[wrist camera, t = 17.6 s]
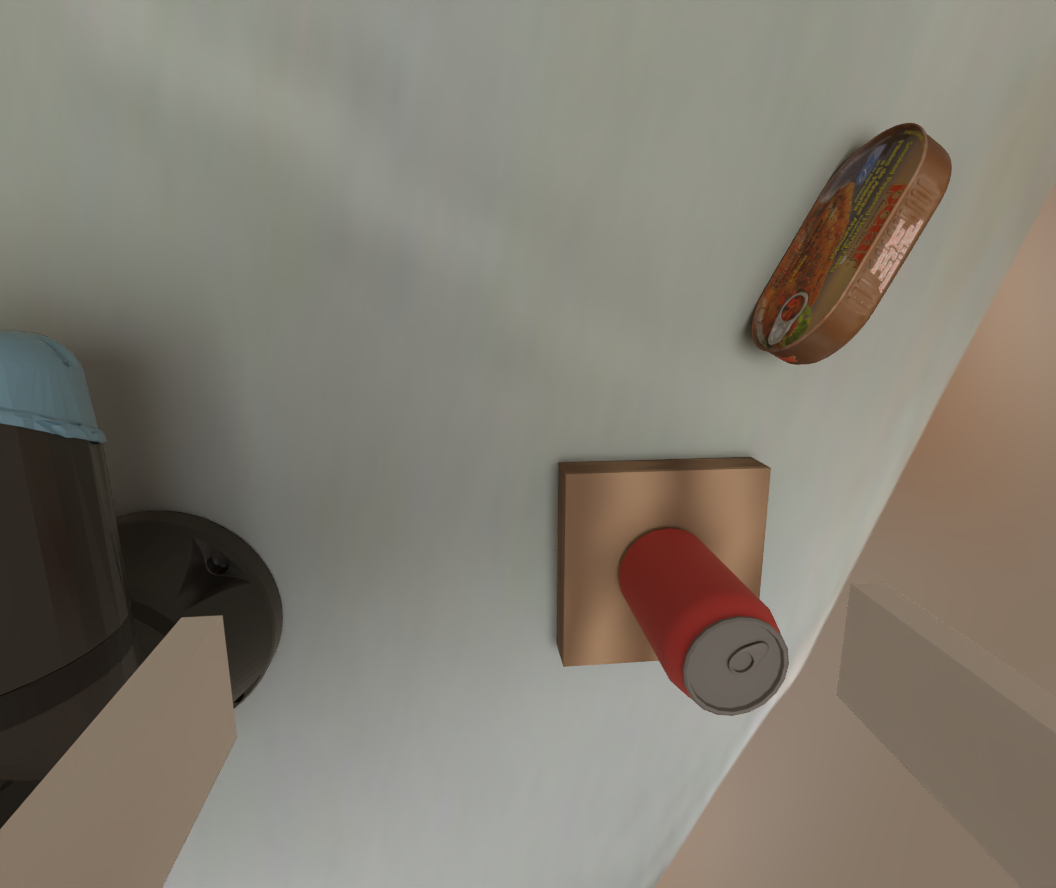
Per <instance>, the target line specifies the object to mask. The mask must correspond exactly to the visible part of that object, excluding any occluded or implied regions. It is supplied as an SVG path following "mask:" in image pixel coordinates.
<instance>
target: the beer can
mask: <svg viewBox="0 0 1056 888" xmlns="http://www.w3.org/2000/svg"><path fill="white" fill-rule="evenodd" d="M619 584H620V591H621V592H622V594H623V596H624V598H625V600H626V602H627V604H628V606H629V607H630V609H631V611H632V613H633V615H634V616H635V618H636V620H637V622H638V624H639V625H640V627H641V629H642V631H643V633H644V634H645V636H646V638H647V640H648V642H649V643H650V645H651V647H652V649H653V651H654V652H655V654H656V656H657V658H658V660H659V661H660V663H661V665H662V667H663V669H664V670H665V672H666V674H667V676H668V678H669V679H670V681H671V682H672V683H674V684H675V685H676V686H677V687H678V688H679V689H680V690H681V691H682V692H684V693H685V694H686V695H687V696H688V697H690V698H691V699H692V700H693V701H694V702H696V703H697V704H698V705H699V706H700V707H701V708H702V709H704V710H707V711H709V712H712V713H714V714H717V715H730V716H734V715H738V714H743V713H747V712H750V711H752V710H754V709H756V708H758V707H760V706H762V705H764V704H765V703H766V702H767V701H768V700H769V699H770V698H771V697H772V696H773V695H774V694H776V692H777V691H778V689H779V688H780V686H781V684H782V683H783V681H784V679H785V676H786V672H787V669H788V665H789V661H788V649H787V646H786V644H785V642H784V640H783V638H782V636H781V634H780V631H779V628H778V626H777V624H776V622H775V620H774V618H773V616H772V614H771V612H770V610H769V608H768V607H767V606H766V605H765V604H764V603H763V602H762V601H761V600H760V599H759V598H758V597H757V596H756V595H755V594H754V593H753V592H752V591H751V590H750V589H749V588H748V587H747V586H746V585H745V584H744V583H743V582H742V581H741V580H740V579H739V578H738V577H737V576H736V575H735V574H734V573H733V572H732V571H731V570H730V569H729V568H728V567H727V566H726V565H725V564H724V563H723V562H722V561H721V560H720V559H719V558H718V557H717V556H716V555H715V554H714V553H713V552H712V551H711V550H710V549H709V548H708V547H707V546H706V545H705V544H704V543H703V542H702V541H701V540H700V539H699V538H698V537H696V536H695V535H693V534H691V533H689V532H686V531H684V530H680V529H671V528H667V529H662V530H657V531H652V532H650V533H648V534H647V535H645V536H643V537H641V538H639V539H638V540H637V541H636V542H635V543H634V544H633V545H632V546H631V547H630V548H629V549H628V551H627V553H626V555H625V556H624V558H623V560H622V562H621V566H620V572H619Z"/></svg>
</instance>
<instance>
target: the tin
mask: <svg viewBox="0 0 1056 888" xmlns="http://www.w3.org/2000/svg"><path fill="white" fill-rule="evenodd" d="M951 170H952V167H951V159H950V157H949V154H948V153H947V152H946V150H945V149H944V148H943V147H942V146H941V145H940V144H938V143H937V142H936V141H935V140H933V139H932V138H931V137H930V136H928V135H927V134H926V132H925V130H924V129H923V128H922V127H921V126H919V125H918V124H915V123H905V124H900V125H897V126H894V127H892V128H890V129H888V130H886V131H884V132H882V133H881V134H879V135H877V136H876V137H874V138H873V139H872V140H870V141H869V142H868V143H866V144H865V145H864V146H862V147H861V148H860V149H859V150H858V151H857V152H855V153H854V154H853V155H852V156H851V157H850V158H849V159H848V160H847V161H846V162H845V163H844V164H843V165H842V166H841V167H840V168H839V170H838V171H837V172H836V173H835V174H834V175H833V177H832V178H831V179H830V181H829V182H828V183H827V185H826V186H825V188H824V189H823V191H822V192H821V194H820V196H819V197H818V199H817V201H816V202H815V204H814V206H813V207H812V209H811V211H810V213H809V214H808V216H807V218H806V219H805V221H804V223H803V225H802V226H801V228H800V230H799V232H798V233H797V235H796V237H795V238H794V240H793V242H792V244H791V245H790V247H789V249H788V251H787V252H786V254H785V256H784V257H783V259H782V261H781V262H780V264H779V266H778V268H777V269H776V271H775V273H774V274H773V276H772V278H771V280H770V281H769V283H768V285H767V286H766V288H765V290H764V292H763V293H762V295H761V297H760V299H759V302H758V304H757V307H756V309H755V312H754V316H753V320H752V337H753V340H754V342H755V344H756V345H757V346H758V347H759V348H760V349H762V350H764V351H768V352H770V353H771V354H773V355H775V356H776V357H778V358H779V359H781V360H783V361H785V362H787V363H790V364H796V365H799V364H811V363H815V362H818V361H820V360H823V359H825V358H827V357H828V356H830V355H832V354H833V353H835V352H836V351H838V350H839V349H840V348H842V347H843V346H844V345H845V344H847V343H848V342H849V341H850V340H851V339H852V338H853V337H854V336H855V335H856V334H857V333H858V332H859V330H860V329H861V328H862V327H863V326H864V325H865V323H866V322H867V321H868V319H869V318H870V316H871V315H872V313H873V312H874V310H875V308H876V307H877V305H878V304H879V302H880V300H881V299H882V297H883V295H884V294H885V292H886V291H887V289H888V287H889V286H890V284H891V283H892V281H893V279H894V278H895V276H896V274H897V273H898V271H899V269H900V268H901V266H902V265H903V263H904V261H905V260H906V258H907V256H908V255H909V253H910V251H911V250H912V248H913V246H914V245H915V243H916V241H917V240H918V238H919V236H920V235H921V233H922V231H923V230H924V228H925V227H926V225H927V223H928V221H929V220H930V218H931V216H932V215H933V213H934V212H935V210H936V208H937V207H938V205H939V203H940V202H941V200H942V198H943V196H944V194H945V192H946V190H947V187H948V184H949V181H950V177H951Z"/></svg>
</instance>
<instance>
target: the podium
mask: <svg viewBox="0 0 1056 888" xmlns="http://www.w3.org/2000/svg"><path fill="white" fill-rule="evenodd" d="M770 471H771V468H770V467H768V466H766V465H764V464H763V463H761V462H759V461H757V460H755V459H754V458H752V457H737V458H702V459H667V460H633V461H598V462H563V463H559V486H558V583H557V646H558V650H559V653H560V657H561V660H562V664H563V667H564V666H580V665H596V664H612V663H628V662H644V661H659V660H658V658H657V656H656V654H655V652H654V651H653V649H652V647H651V645H650V643H649V642H648V640H647V638H646V636H645V634H644V633H643V631H642V629H641V627H640V625H639V624H638V622H637V620H636V618H635V616H634V615H633V613H632V611H631V609H630V607H629V606H628V604H627V602H626V600H625V598H624V596H623V594H622V592H621V591H620V584H619V572H620V566H621V562H622V560H623V558H624V556H625V555H626V553H627V551H628V549H629V548H630V547H631V546H632V545H633V544H634V543H635V542H636V541H637V540H638V539H639V538H641V537H643V536H645V535H647V534H648V533H650V532H652V531H657V530H662V529H667V528H671V529H680V530H684V531H686V532H689V533H691V534H693V535H695V536H696V537H698V538H699V539H700V540H701V541H702V542H703V543H704V544H705V545H706V546H707V547H708V548H709V549H710V550H711V551H712V552H713V553H714V554H715V555H716V556H717V557H718V558H719V559H720V560H721V561H722V562H723V563H724V564H725V565H726V566H727V567H728V568H729V569H730V570H731V571H732V572H733V573H734V574H735V575H736V576H737V577H738V578H739V579H740V580H741V581H742V582H743V583H744V584H745V585H746V586H747V587H748V588H749V589H750V590H751V591H752V592H753V593H754V594H755V595H756V596H757V597H758V598H759V596H760V585H761V573H762V562H763V551H764V539H765V528H766V517H767V505H768V494H769V483H770Z"/></svg>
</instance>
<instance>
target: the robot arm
mask: <svg viewBox="0 0 1056 888" xmlns="http://www.w3.org/2000/svg"><path fill="white" fill-rule="evenodd" d="M103 443H107V440H106V436H105V434H104V432H103V431H102V430H100V429H99V428H98V425H97V421H96V417H95V413H94V409H93V405H92V401H91V397H90V393H89V389H88V385H87V381H86V377H85V373H84V370H83V367H82V365H81V363H80V361H79V360H78V359H77V357H76V356H75V355H74V354H73V353H72V352H71V351H70V350H69V349H68V348H67V347H66V346H64V345H63V344H61V343H60V342H58V341H56V340H54V339H52V338H49V337H47V336H43V335H40V334H35V333H29V332H20V331H9V330H0V888H162V887H163V885H164V883H165V881H166V879H167V877H168V875H169V873H170V871H171V869H172V867H173V865H174V863H175V861H176V859H177V857H178V855H179V853H180V851H181V849H182V847H183V845H184V843H185V841H186V839H187V837H188V835H189V833H190V831H191V829H192V827H193V825H194V823H195V821H196V819H197V817H198V815H199V813H200V811H201V809H202V807H203V805H204V803H205V801H206V799H207V797H208V795H209V793H210V791H211V789H212V787H213V785H214V783H215V781H216V779H217V777H218V775H219V773H220V771H221V769H222V767H223V764H224V762H225V760H226V758H227V756H228V754H229V752H230V750H231V748H232V746H233V744H234V742H235V740H236V738H237V733H236V725H235V716H234V708H235V707H237V706H238V705H239V704H240V703H241V702H243V701H244V700H245V699H246V698H247V697H248V696H249V695H250V693H251V692H252V691H253V690H254V689H255V687H256V686H257V685H258V683H259V682H260V681H261V679H262V677H263V676H264V674H265V672H266V670H267V668H268V666H269V664H270V662H271V660H272V658H273V656H274V654H275V652H276V649H277V647H278V644H279V640H280V636H281V631H282V606H281V600H280V596H279V592H278V589H277V586H276V584H275V582H274V579H273V577H272V575H271V573H270V572H269V570H268V568H267V567H266V565H265V564H264V562H263V561H262V560H261V559H260V557H259V556H258V555H257V554H256V553H255V552H254V551H253V550H252V548H251V547H249V546H248V545H247V544H246V543H245V542H244V541H243V540H241V539H240V538H239V537H237V536H236V535H235V534H233V533H232V532H230V531H228V530H227V529H225V528H223V527H221V526H219V525H217V524H215V523H213V522H210V521H208V520H205V519H203V518H200V517H196V516H193V515H189V514H184V513H178V512H169V511H147V512H138V513H133V514H128V515H124V516H120V517H117V518H116V515H115V510H114V504H113V499H112V493H111V487H110V482H109V476H108V470H107V465H106V459H105V453H104V448H103ZM837 696H838V697H839V698H840V699H841V700H842V701H843V702H844V703H845V704H846V705H847V706H848V708H849V709H850V710H851V711H852V712H853V713H854V714H855V715H856V716H857V717H858V718H859V719H860V720H861V721H862V722H863V723H864V724H865V725H866V727H867V728H868V729H869V730H870V731H871V732H872V733H873V734H874V735H875V736H876V737H877V738H878V739H879V740H880V741H881V742H882V743H883V744H884V745H885V746H886V748H887V749H888V750H889V751H890V752H891V753H892V754H893V755H894V756H895V757H896V758H897V759H898V760H899V761H900V762H901V763H902V764H903V765H904V766H905V768H906V769H908V771H909V772H910V773H911V774H912V775H913V776H914V777H915V778H916V779H917V780H918V781H919V782H920V783H921V784H922V785H923V786H924V787H925V788H926V790H927V791H928V792H929V793H930V794H931V795H932V796H933V797H934V798H935V799H936V800H937V801H938V802H939V803H940V804H941V805H942V806H943V807H944V808H945V810H946V811H948V813H949V814H950V815H951V816H952V817H953V818H954V819H955V820H956V821H957V822H958V823H959V824H960V825H961V826H962V827H963V828H964V830H965V831H966V832H967V833H968V834H969V835H970V836H971V837H972V838H973V839H974V840H975V841H976V842H977V843H978V844H979V845H980V846H981V847H982V848H983V849H984V850H985V852H986V853H987V854H988V855H989V856H990V857H991V858H992V859H993V860H994V861H995V862H996V863H997V864H998V865H999V866H1000V867H1001V868H1002V869H1003V870H1004V871H1005V872H1006V874H1007V875H1008V876H1009V877H1010V878H1011V879H1012V880H1013V881H1014V882H1015V883H1016V884H1017V885H1018V886H1019V887H1020V888H1056V697H1054V696H1053V695H1051V694H1050V693H1049V692H1047V691H1046V690H1044V689H1043V688H1041V687H1039V686H1038V685H1037V684H1035V683H1033V682H1032V681H1031V680H1029V679H1028V678H1026V677H1025V676H1023V675H1022V674H1020V673H1019V672H1017V671H1016V670H1014V669H1012V668H1011V667H1010V666H1008V665H1007V664H1005V663H1004V662H1002V661H1001V660H999V659H998V658H996V657H995V656H993V655H992V654H990V653H989V652H987V651H986V650H984V649H983V648H981V647H980V646H978V645H977V644H975V643H974V642H972V641H971V640H969V639H968V638H966V637H965V636H963V635H962V634H960V633H959V632H957V631H956V630H954V629H953V628H951V627H950V626H949V625H947V624H946V623H944V622H942V621H941V620H940V619H938V618H936V617H935V616H933V615H932V614H931V613H929V612H928V611H926V610H925V609H923V608H922V607H920V606H919V605H917V604H916V603H914V602H913V601H911V600H910V599H908V598H907V597H905V596H904V595H902V594H901V593H899V592H898V591H896V590H895V589H893V588H892V587H890V586H889V585H887V584H886V583H884V582H869V583H851V584H850V592H849V600H848V607H847V616H846V625H845V632H844V640H843V648H842V657H841V665H840V673H839V681H838V690H837Z"/></svg>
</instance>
